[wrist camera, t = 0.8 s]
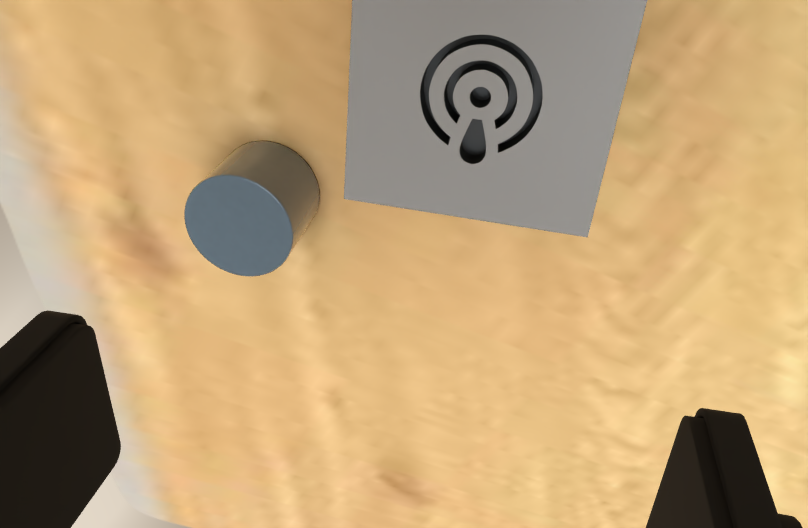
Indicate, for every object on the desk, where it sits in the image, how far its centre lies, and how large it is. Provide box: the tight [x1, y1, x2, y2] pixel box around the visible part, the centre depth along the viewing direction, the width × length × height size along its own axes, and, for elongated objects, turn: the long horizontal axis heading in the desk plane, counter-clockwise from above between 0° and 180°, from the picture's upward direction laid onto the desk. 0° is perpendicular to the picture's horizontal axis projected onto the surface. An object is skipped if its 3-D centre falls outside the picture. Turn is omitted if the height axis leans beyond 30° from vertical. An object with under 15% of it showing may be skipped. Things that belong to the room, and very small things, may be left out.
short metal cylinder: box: [185, 141, 320, 276], centre depth 39 cm, size 6×6×5 cm
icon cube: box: [344, 0, 647, 237], centre depth 30 cm, size 10×10×10 cm
